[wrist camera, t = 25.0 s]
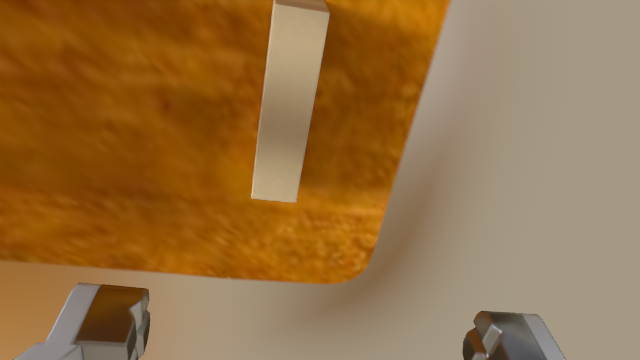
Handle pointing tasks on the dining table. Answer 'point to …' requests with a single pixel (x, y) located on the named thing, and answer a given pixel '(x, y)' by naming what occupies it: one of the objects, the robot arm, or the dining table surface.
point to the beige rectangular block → (288, 96)
